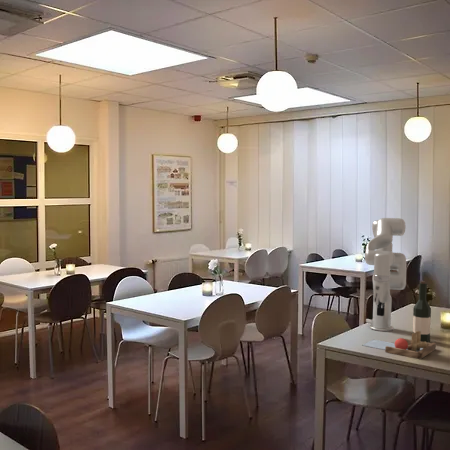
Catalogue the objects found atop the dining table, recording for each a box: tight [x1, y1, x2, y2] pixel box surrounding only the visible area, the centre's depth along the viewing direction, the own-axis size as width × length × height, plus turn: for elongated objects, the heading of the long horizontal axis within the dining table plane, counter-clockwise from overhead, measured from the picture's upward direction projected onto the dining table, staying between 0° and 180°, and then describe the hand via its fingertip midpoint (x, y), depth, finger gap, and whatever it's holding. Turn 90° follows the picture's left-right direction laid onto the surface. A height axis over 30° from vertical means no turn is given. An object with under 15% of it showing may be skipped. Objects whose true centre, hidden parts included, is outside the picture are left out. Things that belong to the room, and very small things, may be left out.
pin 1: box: [410, 332, 417, 352], centre depth 252 cm, size 2×2×9 cm
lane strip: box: [362, 339, 423, 352], centre depth 260 cm, size 28×14×1 cm, turn 52°
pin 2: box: [415, 331, 421, 351], centre depth 256 cm, size 2×2×9 cm
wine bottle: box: [412, 280, 432, 343], centre depth 273 cm, size 8×8×30 cm
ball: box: [394, 337, 408, 350], centre depth 254 cm, size 6×6×6 cm
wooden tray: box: [384, 337, 437, 360], centre depth 255 cm, size 16×21×3 cm
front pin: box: [407, 341, 427, 350], centre depth 254 cm, size 2×2×9 cm
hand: (380, 315), depth 265 cm, fingers closed
